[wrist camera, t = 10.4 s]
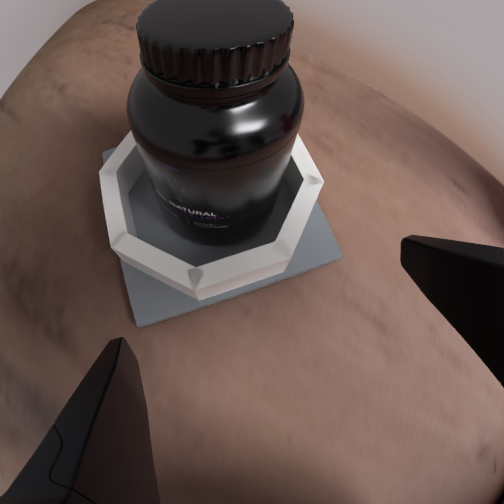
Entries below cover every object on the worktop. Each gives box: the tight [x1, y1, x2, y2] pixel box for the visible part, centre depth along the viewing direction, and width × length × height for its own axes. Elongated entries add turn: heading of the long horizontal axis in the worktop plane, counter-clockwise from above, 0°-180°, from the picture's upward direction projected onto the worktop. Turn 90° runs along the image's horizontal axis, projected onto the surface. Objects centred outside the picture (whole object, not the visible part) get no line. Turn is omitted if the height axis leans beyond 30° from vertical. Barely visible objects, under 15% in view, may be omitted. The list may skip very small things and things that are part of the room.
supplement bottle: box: [127, 0, 304, 246], centre depth 13 cm, size 7×7×12 cm
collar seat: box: [99, 131, 343, 328], centre depth 18 cm, size 12×12×3 cm
